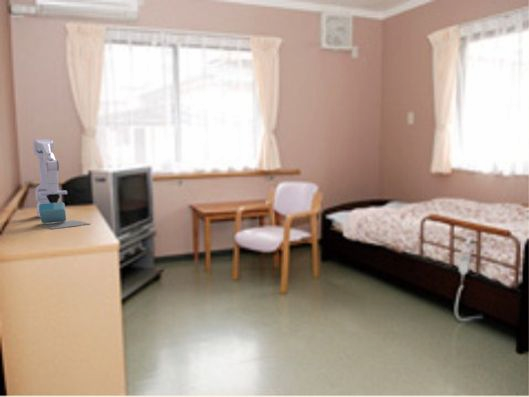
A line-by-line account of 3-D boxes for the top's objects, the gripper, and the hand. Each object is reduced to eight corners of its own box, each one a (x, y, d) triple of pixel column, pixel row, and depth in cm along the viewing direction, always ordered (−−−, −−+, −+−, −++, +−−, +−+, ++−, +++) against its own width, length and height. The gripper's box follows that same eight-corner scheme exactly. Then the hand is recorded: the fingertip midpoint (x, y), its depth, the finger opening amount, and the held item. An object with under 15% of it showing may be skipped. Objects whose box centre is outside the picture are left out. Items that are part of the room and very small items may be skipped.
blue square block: (65, 214, 251) (64, 201, 241) (66, 221, 248) (64, 208, 239) (41, 216, 246) (38, 203, 237) (41, 223, 244) (39, 211, 235)
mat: (37, 225, 238) (37, 224, 238) (75, 220, 253) (75, 220, 253) (52, 229, 228) (52, 228, 228) (90, 224, 243) (90, 223, 243)
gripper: (41, 184, 238) (43, 210, 239) (69, 182, 249) (70, 207, 250) (35, 183, 242) (37, 209, 244) (63, 182, 253) (64, 206, 255)
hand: (53, 208), depth 247 cm, fingers closed
